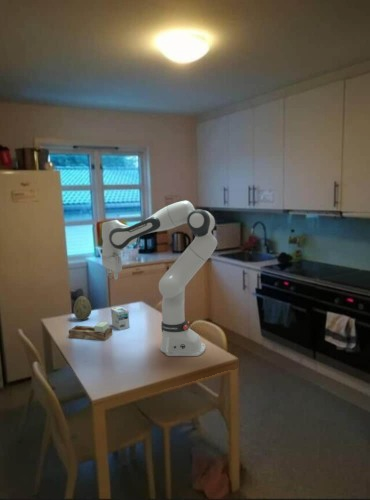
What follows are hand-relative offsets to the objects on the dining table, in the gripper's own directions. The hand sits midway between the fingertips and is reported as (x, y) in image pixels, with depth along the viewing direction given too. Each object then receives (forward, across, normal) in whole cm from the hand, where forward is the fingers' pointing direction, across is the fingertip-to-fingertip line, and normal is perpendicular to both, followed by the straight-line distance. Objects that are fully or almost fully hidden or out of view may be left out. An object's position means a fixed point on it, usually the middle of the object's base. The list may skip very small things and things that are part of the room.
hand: (112, 277), depth 198 cm
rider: (+32, +9, +4) cm, 33 cm away
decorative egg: (+35, +45, +5) cm, 57 cm away
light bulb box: (+34, +18, -10) cm, 40 cm away
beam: (+34, +14, +9) cm, 38 cm away
